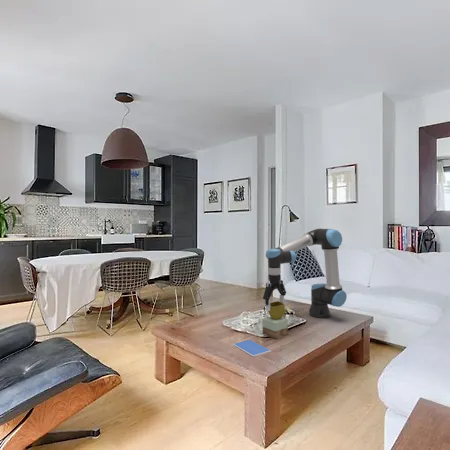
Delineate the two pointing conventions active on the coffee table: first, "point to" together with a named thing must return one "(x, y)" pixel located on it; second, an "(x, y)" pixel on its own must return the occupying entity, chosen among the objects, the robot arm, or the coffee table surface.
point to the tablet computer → (252, 348)
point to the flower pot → (276, 310)
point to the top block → (274, 323)
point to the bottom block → (275, 333)
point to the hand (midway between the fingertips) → (275, 307)
